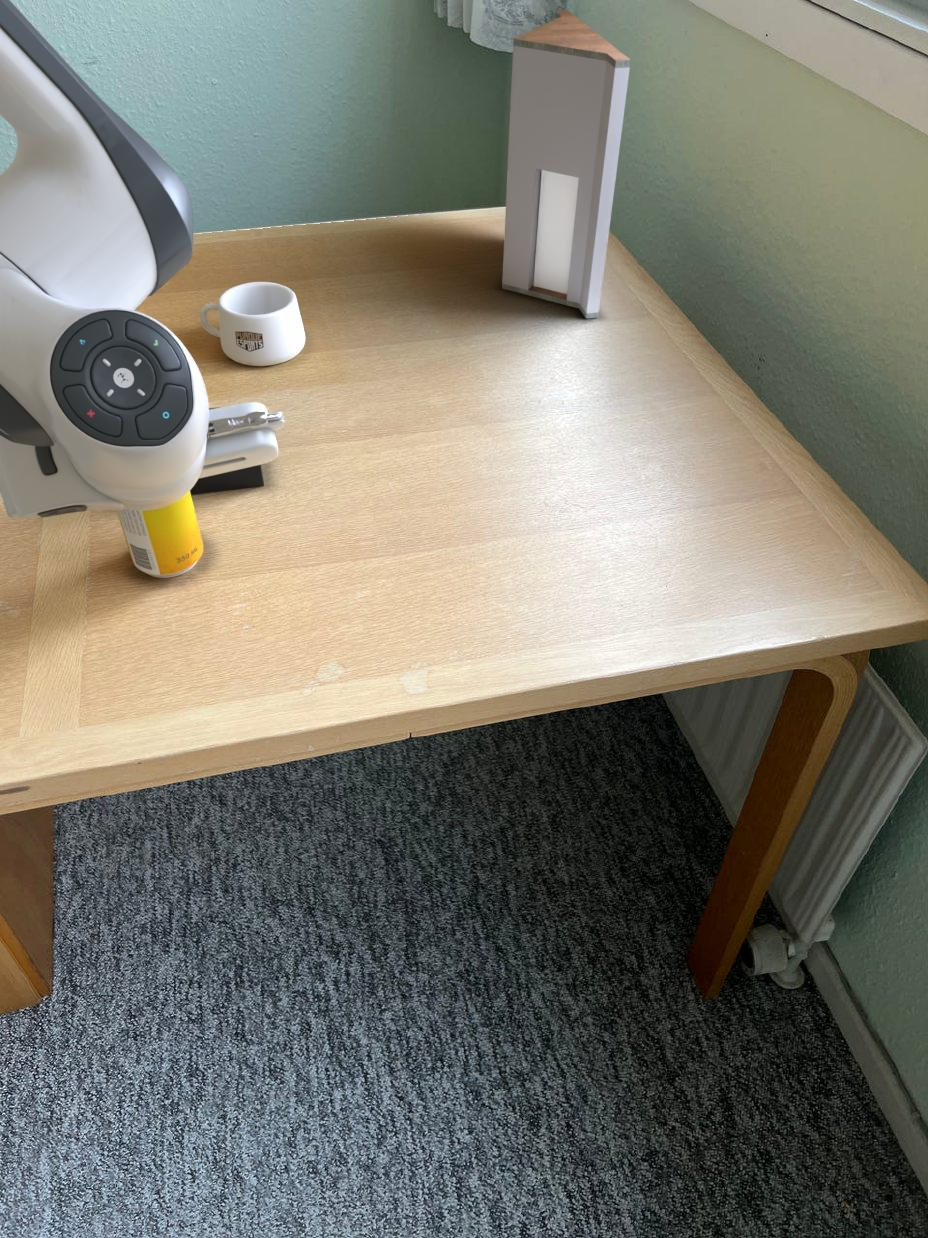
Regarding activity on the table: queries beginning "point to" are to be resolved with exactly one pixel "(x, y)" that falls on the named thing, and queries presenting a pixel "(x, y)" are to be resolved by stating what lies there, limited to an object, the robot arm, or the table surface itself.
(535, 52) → the cabinet
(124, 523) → the beer can
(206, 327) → the mug
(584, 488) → the table surface
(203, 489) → the panel
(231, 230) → the table surface
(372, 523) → the table surface
